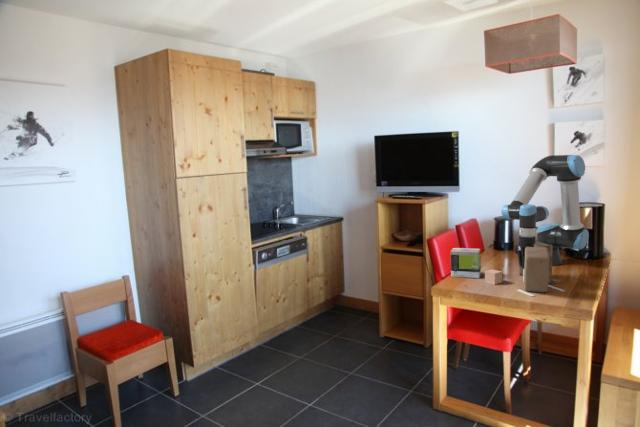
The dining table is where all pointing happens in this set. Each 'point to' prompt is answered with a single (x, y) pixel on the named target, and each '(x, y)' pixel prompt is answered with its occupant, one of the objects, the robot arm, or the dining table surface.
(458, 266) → the tea box
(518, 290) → the strip
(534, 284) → the wooden block
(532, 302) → the dining table surface
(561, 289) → the strip
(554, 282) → the brown angled piece
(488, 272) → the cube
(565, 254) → the dining table surface
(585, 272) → the dining table surface
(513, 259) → the dining table surface
